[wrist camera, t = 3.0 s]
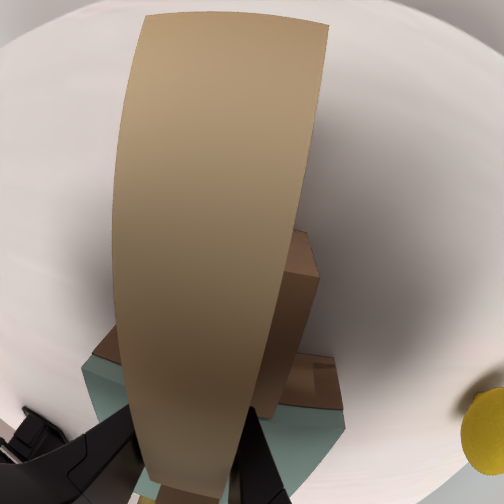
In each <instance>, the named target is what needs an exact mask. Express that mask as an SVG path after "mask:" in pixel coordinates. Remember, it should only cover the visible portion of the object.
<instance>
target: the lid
mask: <svg viewBox="0 0 504 504" xmlns="http://www.w3.org/2000/svg"><path fill="white" fill-rule="evenodd" d="M81 369H82V373H83V376H84V380H85V383H86V386H87V389H88V392H89V395H90V398H91V401H92V404H93V407H94V410H95V412H96V415H97V418H98V420H99V423H101V422H102V421H103V420H105V419H106V418H108V417H109V416H111V415H112V414H114V413H115V412H117V411H118V410H120V409H121V408H122V407H124V406H125V405H127V404H128V403H129V402H128V397H127V392H126V387H125V382H124V376H123V370H122V366H121V365H118V364H116V363H113V362H110V361H108V360H105V359H103V358H100V357H98V356H95V355H93V354H92V355H91V356H90V357H89V359H88V360H87V361H86V362H85V363H84V365H83V366H82V367H81ZM258 418H259V421H260V424H261V427H262V429H263V432H264V435H265V438H266V440H267V443H268V446H269V448H270V451H271V454H272V456H273V459H274V461H275V464H276V466H277V469H278V472H279V474H280V477H281V479H282V482H283V484H284V488H285V489H286V491H287V494H288V496H289V498H290V497H291V495H292V494H293V493H294V492H295V491H296V490H297V489H298V488H299V487H300V486H301V485H302V483H303V482H304V481H305V480H306V479H307V478H308V476H309V475H310V474H311V473H312V472H313V471H314V469H315V468H316V467H317V466H318V464H319V463H320V462H321V461H322V459H323V458H324V457H325V456H326V454H327V453H328V452H329V450H330V449H331V448H332V447H333V445H334V444H335V442H336V441H337V440H338V438H339V437H340V436H341V434H342V433H343V431H344V430H345V429H346V428H345V422H344V416H343V411H341V410H326V409H314V408H304V407H295V406H287V405H279V404H278V405H277V408H276V410H275V413H274V415H273V418H272V419H269V418H262V417H258ZM228 491H229V477H228V480H227V483H226V486H225V489H224V492H223V496H222V499H218V498H213V497H208V496H203V495H199V494H195V493H191V492H187V491H183V490H179V489H176V488H172V487H169V486H165V485H162V484H159V483H156V482H153V481H150V479H149V476H148V473H147V470H146V467H144V469H143V472H142V474H141V476H140V478H139V480H138V482H137V484H136V486H135V489H134V491H133V493H136V494H139V495H142V496H144V497H147V498H150V499H153V500H155V504H228Z"/></svg>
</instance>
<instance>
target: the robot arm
mask: <svg viewBox="0 0 504 504" xmlns="http://www.w3.org/2000/svg"><path fill="white" fill-rule="evenodd" d="M22 410H23V412H24V414H25V415H26V418H25V419H24V421H23V422H22V423H21V425H20V426H19V427H18V428H17V430H16V431H15V432H14V436H13V437H12V438H11V440H10V441H9V443H6V442H5V440H4V439H3V438H1V437H0V447H2V448H3V449H4V450H5V451H6V452H7V453H8V454H9V455H10V456H11V457H12V458H13V459H15V460H16V461H17V462H18V463H19V464H16V463H14V462H13V461H12V460H11V459H10V458H9V457H8V456H7V455H6V454H5V453H3V452H2V451H1V450H0V504H128V501H129V499H130V497H131V495H132V493H133V491H134V489H135V486H136V484H137V482H138V480H139V478H140V476H141V474H142V472H143V469H144V467H145V464H144V460H143V457H142V454H141V450H140V447H139V443H138V439H137V436H136V432H135V428H134V424H133V420H132V416H131V411H130V407H129V403H128V404H127V405H125V406H124V407H122V408H121V409H120V410H118V411H117V412H115V413H114V414H112V415H111V416H109V417H108V418H106V419H105V420H103V421H102V422H101V423H99V424H98V425H96V426H95V427H93V428H92V429H90V430H89V431H87V432H86V433H85V434H82V435H81V436H79V437H78V438H76V439H74V440H73V441H71V442H69V443H68V442H67V440H66V438H65V437H64V435H63V433H62V432H61V431H60V430H59V429H58V428H57V427H55V426H53V425H52V424H50V423H48V422H47V421H45V420H44V419H42V418H40V417H39V416H37V415H36V414H34V413H33V412H31V411H30V410H28V409H27V408H25V407H24V406H23V407H22ZM228 504H292V503H291V501H290V498H289V496H288V494H287V491H286V489H285V488H284V484H283V482H282V479H281V477H280V474H279V472H278V469H277V466H276V464H275V461H274V459H273V456H272V454H271V451H270V448H269V446H268V443H267V440H266V438H265V435H264V432H263V429H262V427H261V424H260V421H259V418H258V416H257V413H256V410H255V408H254V407H253V406H249V410H248V413H247V417H246V420H245V424H244V427H243V430H242V434H241V437H240V441H239V444H238V447H237V451H236V454H235V457H234V461H233V464H232V467H231V470H230V474H229V491H228Z"/></svg>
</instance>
